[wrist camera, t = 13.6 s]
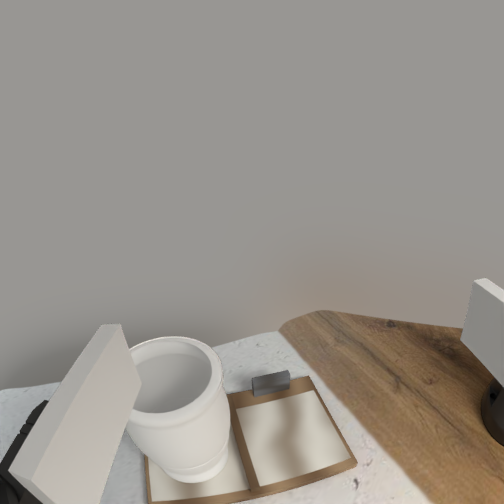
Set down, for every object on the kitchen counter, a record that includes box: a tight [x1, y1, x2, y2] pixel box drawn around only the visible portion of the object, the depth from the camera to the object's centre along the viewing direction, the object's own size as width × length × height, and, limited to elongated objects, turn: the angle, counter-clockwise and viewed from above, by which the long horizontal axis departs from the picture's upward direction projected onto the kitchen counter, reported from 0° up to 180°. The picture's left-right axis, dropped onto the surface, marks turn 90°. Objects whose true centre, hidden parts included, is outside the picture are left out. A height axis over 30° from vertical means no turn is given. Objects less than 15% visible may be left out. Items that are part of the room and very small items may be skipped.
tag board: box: [144, 370, 358, 504], centre depth 32 cm, size 24×16×4 cm, turn 104°
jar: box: [125, 336, 230, 483], centre depth 27 cm, size 11×10×15 cm
